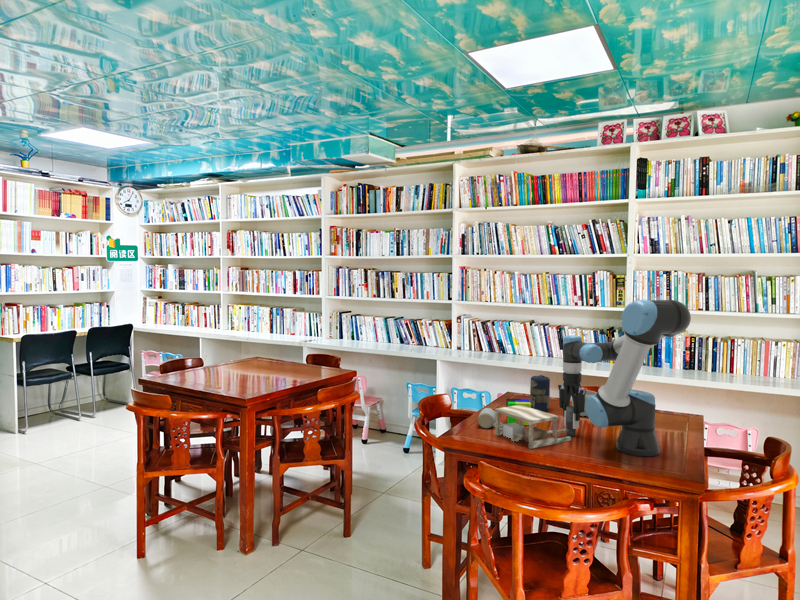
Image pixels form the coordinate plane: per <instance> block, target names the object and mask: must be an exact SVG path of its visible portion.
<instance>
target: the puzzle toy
mask: <svg viewBox="0 0 800 600" xmlns="http://www.w3.org/2000/svg"><path fill="white" fill-rule="evenodd" d="M505 399H506V403H505V404H506V406H505V407H509V406H516V405H523V406H526V407H530V408H531V403H530V399H529V398H508V397H507V398H505ZM505 416H506V417H505V420H506V422H508V423H507V424H509V423H517V424H519V420H518V419H515V418H513V417H510V416H507V415H505ZM523 425H529V423H527V422H524V421H523Z"/></svg>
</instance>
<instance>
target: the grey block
mask: <svg viewBox="0 0 800 600" xmlns="http://www.w3.org/2000/svg"><path fill="white" fill-rule="evenodd" d="M502 428H503V435H502V436H503V437H505V436H506V437H505V438H507V437H508V438H507V439H509V438H511V439H510V440H512V435H516V434H521V433H525V426H522V425H519V424H517V423H509V424H508V423H502Z"/></svg>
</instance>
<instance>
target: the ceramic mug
mask: <svg viewBox="0 0 800 600" xmlns="http://www.w3.org/2000/svg"><path fill="white" fill-rule="evenodd" d="M477 421H478V422H477V423H478V425H479V427H481V428H483V429H489V428H492V427H494V428H496V412H495V409H494V410H493V409H492V408H491V407H485V408H483V409H482V410H480V412H479V415H478V416H477ZM500 428H503V423H502V422H501V421H500Z"/></svg>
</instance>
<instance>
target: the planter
mask: <svg viewBox="0 0 800 600" xmlns="http://www.w3.org/2000/svg"><path fill="white" fill-rule="evenodd" d="M597 392H598V391H597ZM597 392H596V391H595V390H594V391H593V390H587V389H586V394H585V408H584V412H582V413H580V417H584V416H586V417H588V415H587V411H586V401H587V398H588V397H590V396H596V394H597ZM575 395H576V394H575ZM571 406H574V404H573V397H572V396H571ZM586 417H585V418H586ZM588 418H589V417H588Z"/></svg>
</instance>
